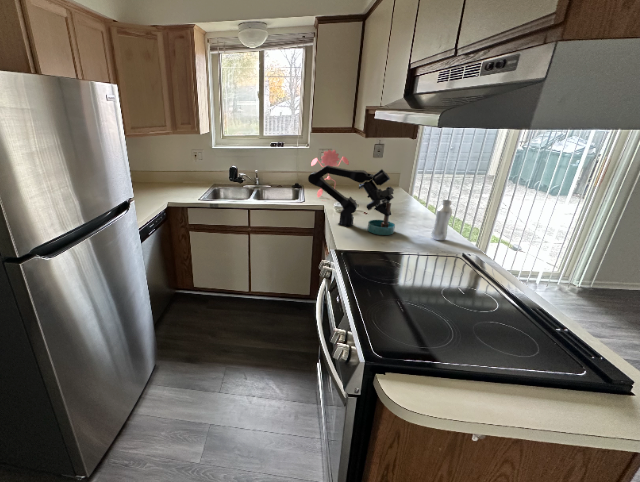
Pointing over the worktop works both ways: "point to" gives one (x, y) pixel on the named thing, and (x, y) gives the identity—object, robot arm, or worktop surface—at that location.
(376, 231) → the bowl
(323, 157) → the figurine
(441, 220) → the plastic bottle
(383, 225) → the post
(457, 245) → the worktop surface
